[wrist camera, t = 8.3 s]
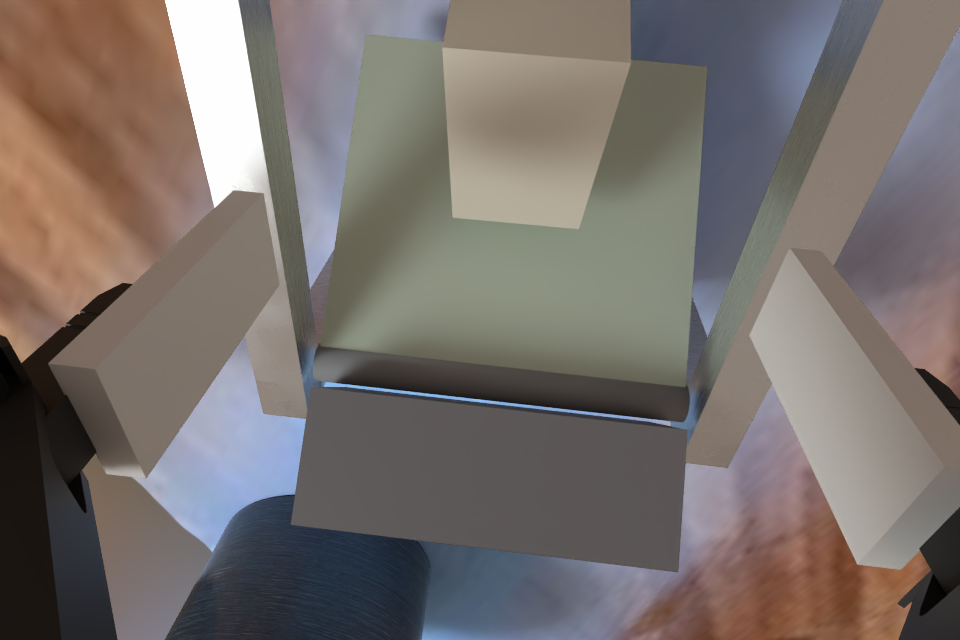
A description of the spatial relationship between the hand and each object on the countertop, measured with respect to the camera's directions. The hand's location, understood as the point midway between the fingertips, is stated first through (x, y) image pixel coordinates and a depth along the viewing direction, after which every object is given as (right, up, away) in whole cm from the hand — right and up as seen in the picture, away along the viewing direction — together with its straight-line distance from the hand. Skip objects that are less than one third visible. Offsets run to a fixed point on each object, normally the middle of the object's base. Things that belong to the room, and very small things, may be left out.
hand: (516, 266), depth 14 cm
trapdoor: (0, 0, +12) cm, 12 cm away
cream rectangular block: (+1, +5, +9) cm, 10 cm away
